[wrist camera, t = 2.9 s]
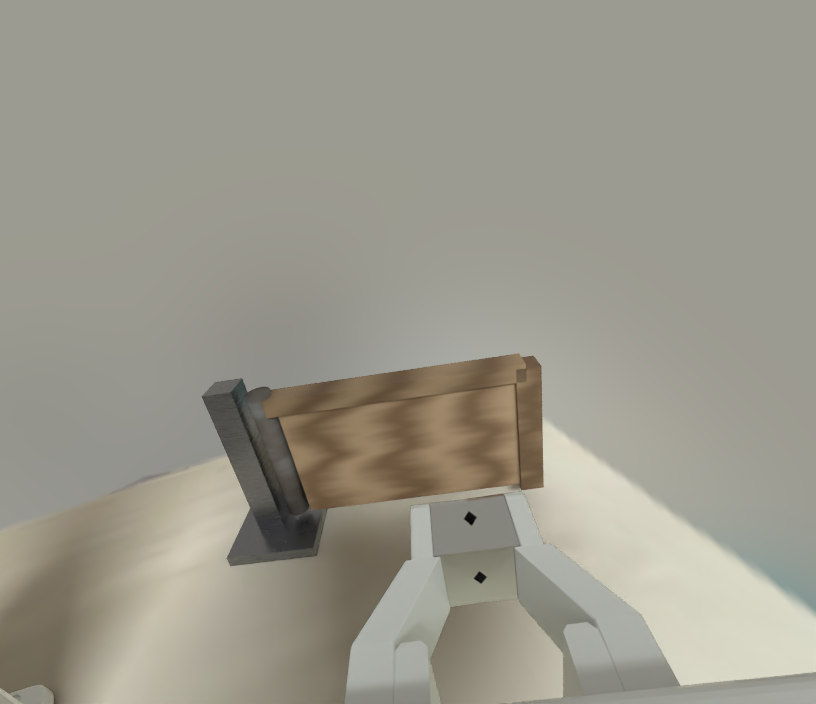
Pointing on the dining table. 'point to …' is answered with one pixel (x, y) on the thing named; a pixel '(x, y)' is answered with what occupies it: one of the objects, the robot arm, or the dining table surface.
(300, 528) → the gate post
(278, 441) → the gate
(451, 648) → the dining table surface
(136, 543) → the dining table surface
